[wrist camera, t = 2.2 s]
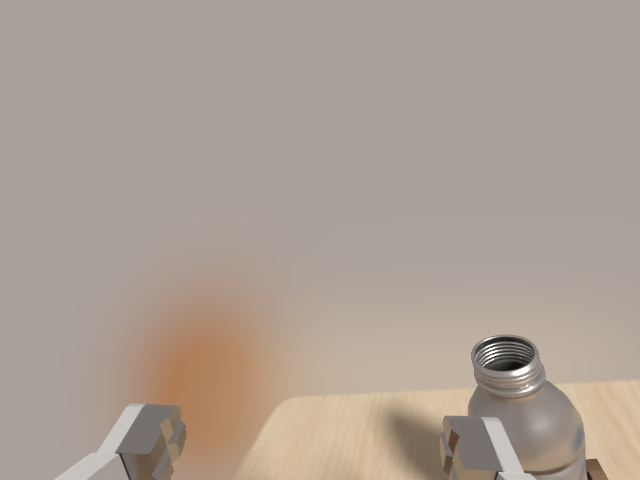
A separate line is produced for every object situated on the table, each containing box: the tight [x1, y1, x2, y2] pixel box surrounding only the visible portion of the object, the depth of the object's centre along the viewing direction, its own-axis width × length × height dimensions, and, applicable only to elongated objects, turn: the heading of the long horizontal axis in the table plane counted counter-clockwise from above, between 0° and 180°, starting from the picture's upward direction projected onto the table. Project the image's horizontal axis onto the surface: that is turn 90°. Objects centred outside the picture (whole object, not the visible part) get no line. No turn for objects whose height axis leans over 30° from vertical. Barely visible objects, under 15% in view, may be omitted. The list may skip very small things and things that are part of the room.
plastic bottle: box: [468, 335, 588, 480], centre depth 24 cm, size 6×7×20 cm
